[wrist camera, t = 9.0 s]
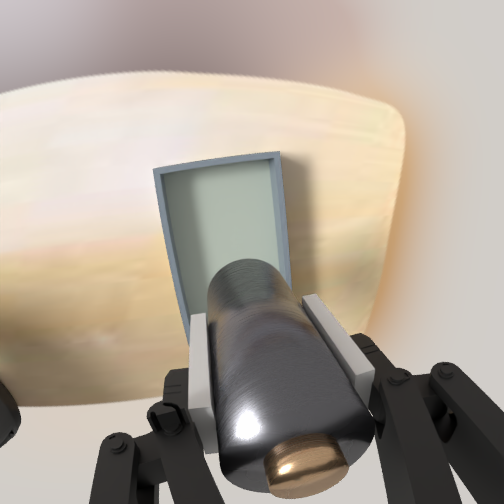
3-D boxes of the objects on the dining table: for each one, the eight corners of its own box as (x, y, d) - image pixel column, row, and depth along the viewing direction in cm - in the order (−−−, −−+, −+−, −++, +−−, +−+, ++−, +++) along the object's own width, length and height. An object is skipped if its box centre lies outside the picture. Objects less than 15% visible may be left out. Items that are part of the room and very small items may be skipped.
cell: (214, 336, 20) (237, 522, 8) (200, 265, 18) (205, 453, 6) (289, 323, 20) (373, 488, 8) (283, 252, 19) (403, 403, 7)
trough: (191, 338, 31) (191, 355, 28) (157, 167, 25) (152, 168, 23) (286, 321, 32) (294, 336, 29) (271, 151, 27) (279, 151, 24)
